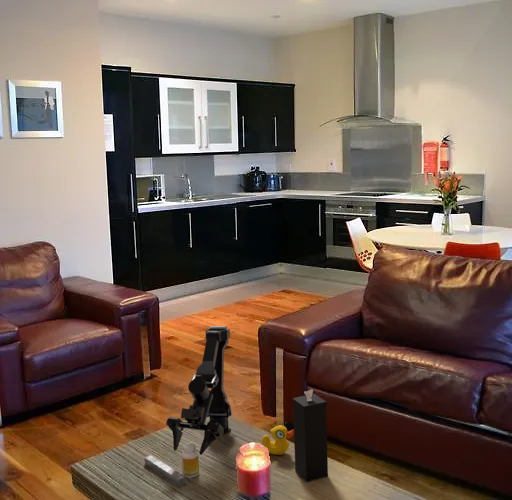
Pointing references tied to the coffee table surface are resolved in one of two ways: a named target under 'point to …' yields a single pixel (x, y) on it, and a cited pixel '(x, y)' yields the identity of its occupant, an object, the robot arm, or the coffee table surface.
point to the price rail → (165, 471)
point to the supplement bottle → (190, 460)
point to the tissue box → (310, 436)
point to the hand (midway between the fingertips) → (187, 452)
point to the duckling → (278, 440)
